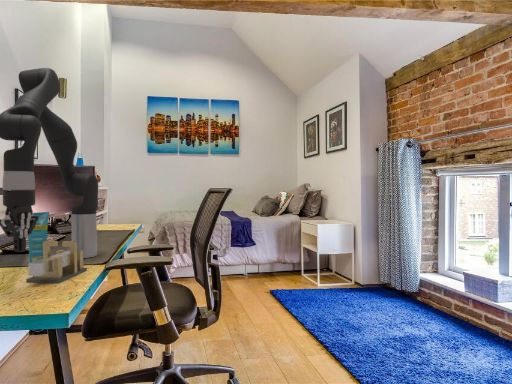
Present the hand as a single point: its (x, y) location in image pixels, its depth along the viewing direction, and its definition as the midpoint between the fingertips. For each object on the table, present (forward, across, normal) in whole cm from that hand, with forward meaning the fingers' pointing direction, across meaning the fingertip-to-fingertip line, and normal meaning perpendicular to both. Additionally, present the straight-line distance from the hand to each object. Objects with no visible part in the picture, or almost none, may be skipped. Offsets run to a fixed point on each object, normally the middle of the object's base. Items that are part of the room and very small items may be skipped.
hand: (19, 251), depth 103 cm
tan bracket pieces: (+10, -18, 0) cm, 20 cm away
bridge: (+11, -18, 0) cm, 21 cm away
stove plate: (+11, -17, 0) cm, 20 cm away
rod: (+8, -16, 0) cm, 18 cm away
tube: (+11, -31, -16) cm, 37 cm away
